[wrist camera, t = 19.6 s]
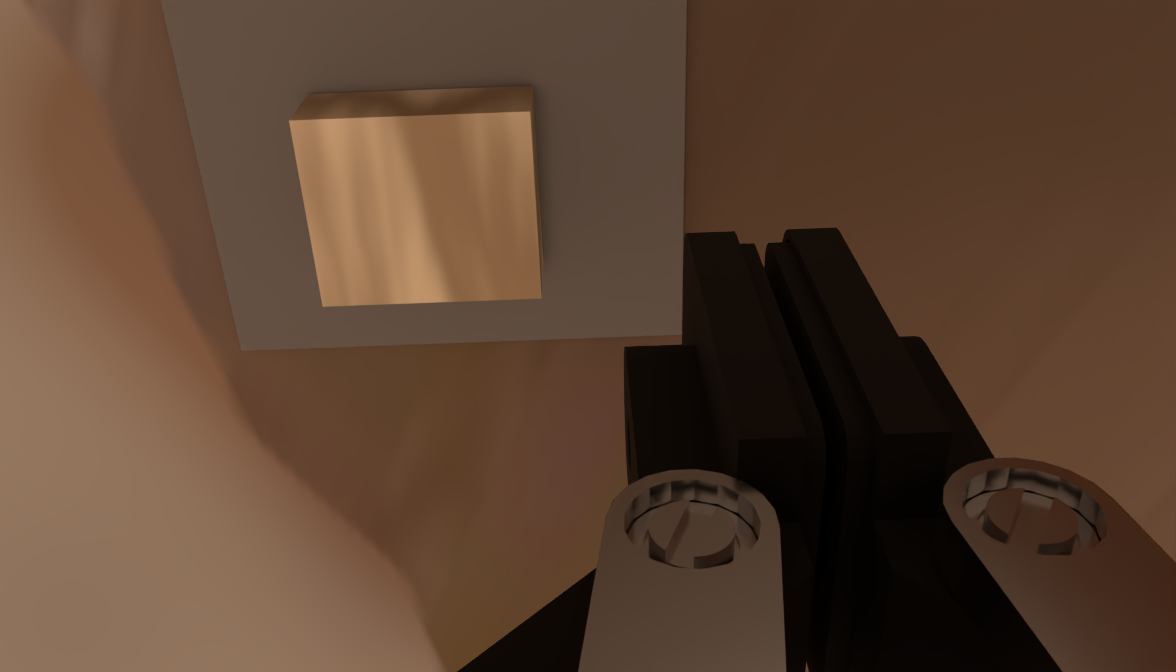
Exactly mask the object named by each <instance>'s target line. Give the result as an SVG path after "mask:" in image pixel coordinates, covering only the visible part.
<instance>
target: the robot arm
mask: <svg viewBox="0 0 1176 672" xmlns="http://www.w3.org/2000/svg"><path fill="white" fill-rule="evenodd" d="M624 404H625V439H626V460H627V476H628V486H627V487H626V488H625V489H624V490H623V491H622V492H621V493H620V494H619V495H618V496H616V497H615V498H614V499H613V501H612V503H611V506H610V508H609V510H608V513H607V515H606V518H605V524H604V529H603V535H602V541H601V546H600V552H599V557H598V563H597V568H595V569H594V570H593V571H591V572H590V573H589V574H587V575H586V576H585V577H583V578H582V579H581V580H579V581H578V582H577V583H575V584H574V585H573V586H571V587H570V588H569V589H567V590H566V591H565V592H563V593H562V594H561V595H559V596H558V597H557V598H555V599H554V600H553V601H551V602H550V603H549V604H547V605H546V606H545V607H543V608H542V609H541V610H539V611H538V612H537V613H535V614H534V615H533V616H531V617H530V618H529V619H527V620H526V621H524V622H523V623H522V624H520V625H519V626H518V627H516V628H515V629H514V630H512V631H511V632H510V633H508V634H507V635H506V636H504V637H503V638H502V639H500V640H499V641H498V642H496V643H495V644H494V645H492V646H491V647H490V648H488V649H487V650H486V651H484V652H483V653H482V654H480V655H479V656H478V657H476V658H475V659H474V660H472V661H471V662H470V663H468V664H467V665H466V666H464V667H463V668H462V669H460V670H459V671H458V672H805V668H806V662H807V665H808V669H809V672H1176V562H1175V561H1174V560H1173V559H1172V558H1171V557H1170V556H1169V555H1168V554H1167V553H1166V552H1165V551H1164V550H1163V549H1162V548H1161V547H1160V546H1159V545H1158V544H1157V543H1156V542H1155V541H1154V540H1153V539H1152V538H1151V537H1150V536H1149V535H1148V534H1147V533H1146V532H1145V531H1144V530H1143V528H1142V527H1141V526H1140V525H1139V524H1138V523H1137V522H1136V521H1135V520H1134V519H1133V518H1132V517H1131V516H1130V515H1129V514H1128V513H1127V512H1126V511H1125V510H1124V509H1123V508H1122V507H1121V506H1120V505H1119V504H1118V503H1117V502H1116V501H1115V500H1114V499H1113V498H1112V497H1111V496H1110V495H1108V494H1107V493H1106V492H1105V491H1103V490H1102V489H1101V488H1100V487H1098V486H1097V485H1096V484H1095V483H1093V482H1092V481H1090V480H1088V479H1086V478H1084V477H1082V476H1080V475H1078V474H1076V473H1074V472H1072V471H1070V470H1067V469H1064V468H1061V467H1058V466H1055V465H1052V464H1048V463H1045V462H1042V461H1035V460H1028V459H1021V458H994V456H993V454H992V453H991V451H990V449H989V448H988V446H987V444H986V443H985V441H984V439H983V438H982V436H981V434H980V433H979V431H978V429H977V428H976V426H975V424H974V423H973V421H972V419H971V418H970V416H969V414H968V413H967V411H966V409H965V408H964V406H963V404H962V403H961V401H960V399H959V398H958V396H957V394H956V393H955V391H954V389H953V388H952V386H951V384H950V383H949V381H948V380H947V378H946V376H945V375H944V373H943V371H942V370H941V368H940V366H939V365H938V363H937V361H936V360H935V358H934V356H933V355H932V353H931V351H930V350H929V348H928V346H927V345H926V343H925V342H924V341H923V340H922V339H921V338H920V337H916V336H908V337H899V336H898V334H897V332H896V331H895V329H894V327H893V325H892V324H891V322H890V320H889V318H888V317H887V315H886V313H885V311H884V309H883V308H882V306H881V304H880V302H879V301H878V299H877V297H876V295H875V293H874V292H873V290H872V288H871V286H870V285H869V283H868V281H867V279H866V277H865V276H864V274H863V272H862V270H861V269H860V267H859V265H858V263H857V261H856V260H855V258H854V256H853V254H852V253H851V251H850V249H849V247H848V246H847V244H846V242H845V240H844V238H843V237H842V235H841V233H840V231H839V230H838V229H837V228H815V229H788V230H786V232H785V234H784V237H783V242H780V243H768V244H767V247H766V252H765V265H764V267H763V265H762V262H761V259H760V257H759V254H758V251H757V249H756V246H755V244H754V243H753V244H739V241H738V238H737V235H736V233H735V231H733V232H705V233H686V234H685V239H684V258H683V319H682V345H661V346H633V347H624Z"/></svg>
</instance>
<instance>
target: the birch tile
mask: <svg viewBox="0 0 1176 672" xmlns="http://www.w3.org/2000/svg"><path fill="white" fill-rule="evenodd" d="M289 124H290V129H291V135H292V140H293V146H294V151H295V157H296V162H297V168H298V173H299V179H300V184H301V190H302V196H303V201H304V207H305V212H306V218H307V223H308V229H309V234H310V240H311V245H312V251H313V256H314V262H315V267H316V273H317V278H318V284H319V289H320V295H321V300H322V306H323V307H329V306H355V305H382V304H409V303H435V302H462V301H489V300H515V299H542V280H543V250H542V234H541V217H540V200H539V183H538V167H537V150H536V133H535V116H534V100H533V86H508V87H482V88H455V89H428V90H402V91H375V92H348V93H322V94H308V95H307V97H306V98H305V99H304V101H303V102H302V103H301V105H300V106H299V107H298V109H297V110H296V112H295V113H294V114H293V116H292V117H291V118H290V120H289Z"/></svg>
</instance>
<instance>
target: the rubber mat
mask: <svg viewBox="0 0 1176 672" xmlns="http://www.w3.org/2000/svg"><path fill="white" fill-rule="evenodd" d="M161 4H162V8H163V13H164V17H165V21H166V26H167V30H168V34H169V39H170V43H171V47H172V52H173V56H174V60H175V65H176V69H177V73H178V78H179V82H180V86H181V91H182V95H183V100H184V104H185V108H186V113H187V117H188V121H189V126H190V130H191V134H192V139H193V143H194V147H195V152H196V156H197V160H198V165H199V169H200V174H201V178H202V182H203V187H204V191H205V195H206V200H207V204H208V208H209V213H210V217H211V221H212V226H213V230H214V234H215V239H216V243H217V247H218V252H219V256H220V261H221V265H222V269H223V274H224V278H225V282H226V287H227V291H228V295H229V300H230V304H231V308H232V313H233V317H234V321H235V326H236V330H237V334H238V339H239V343H240V348H241V351H249V350H276V349H304V348H331V347H358V346H386V345H413V344H441V343H468V342H496V341H523V340H551V339H578V338H605V337H633V336H660V335H682V281H683V218H684V155H685V92H686V29H687V0H161ZM508 86H533V100H534V116H535V133H536V150H537V167H538V183H539V200H540V217H541V234H542V250H543V280H542V299H515V300H489V301H462V302H435V303H409V304H382V305H355V306H329V307H323V306H322V300H321V295H320V289H319V284H318V278H317V273H316V267H315V262H314V256H313V251H312V245H311V240H310V234H309V229H308V223H307V218H306V212H305V207H304V201H303V196H302V190H301V184H300V179H299V173H298V168H297V162H296V157H295V151H294V146H293V140H292V135H291V129H290V124H289V120H290V118H291V117H292V116H293V114H294V113H295V112H296V110H297V109H298V107H299V106H300V105H301V103H302V102H303V101H304V99H305V98H306V97H307V95H308V94H322V93H348V92H375V91H402V90H428V89H455V88H482V87H508Z"/></svg>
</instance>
